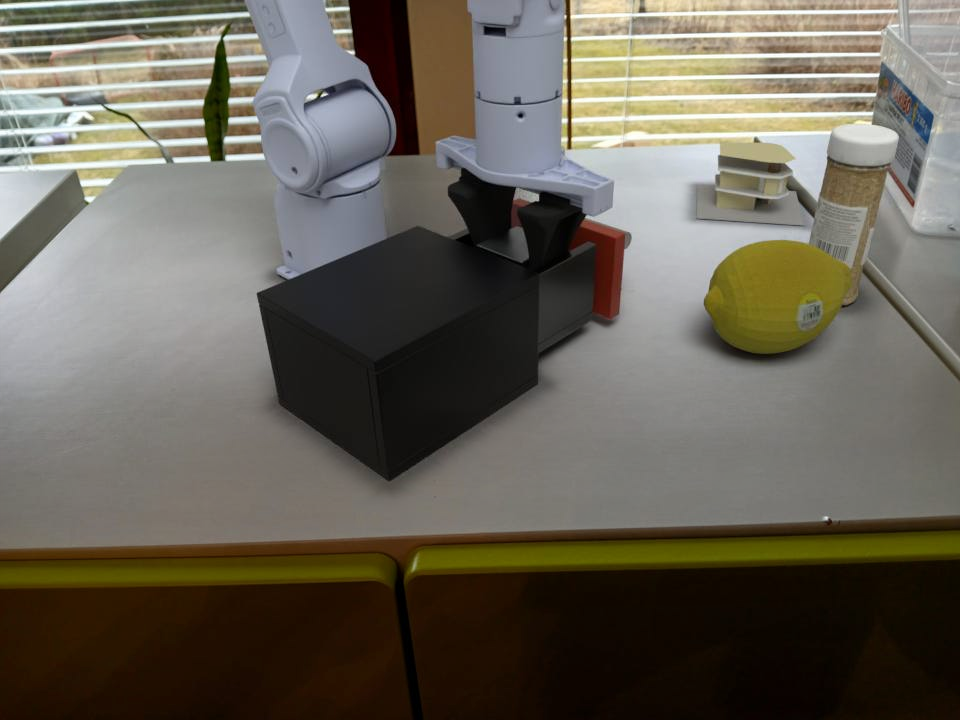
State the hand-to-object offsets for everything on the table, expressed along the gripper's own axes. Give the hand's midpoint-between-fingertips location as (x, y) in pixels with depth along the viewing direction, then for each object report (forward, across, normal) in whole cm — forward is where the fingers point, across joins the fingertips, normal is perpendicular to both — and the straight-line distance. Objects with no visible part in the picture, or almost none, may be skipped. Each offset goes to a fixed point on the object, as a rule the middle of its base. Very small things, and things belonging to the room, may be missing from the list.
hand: (519, 280), depth 59 cm
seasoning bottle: (+5, -15, -21) cm, 26 cm away
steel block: (+1, 0, 0) cm, 1 cm away
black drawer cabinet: (+4, 0, +11) cm, 12 cm away
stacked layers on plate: (+5, -1, -34) cm, 34 cm away
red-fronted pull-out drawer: (+3, 0, -2) cm, 4 cm away
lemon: (+5, -15, -11) cm, 19 cm away
